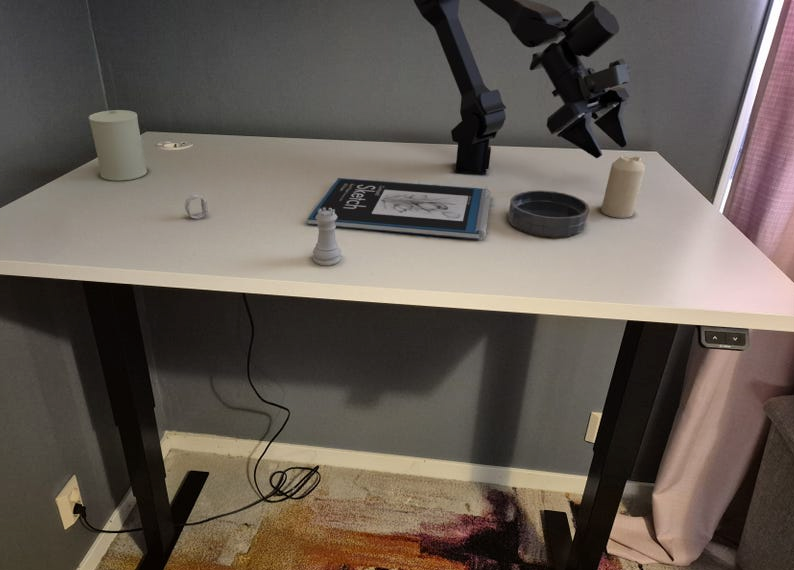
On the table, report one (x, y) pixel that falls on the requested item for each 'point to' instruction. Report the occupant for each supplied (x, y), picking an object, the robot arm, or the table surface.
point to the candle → (623, 187)
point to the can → (118, 144)
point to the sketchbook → (407, 208)
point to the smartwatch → (203, 204)
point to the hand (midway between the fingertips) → (612, 151)
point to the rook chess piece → (326, 239)
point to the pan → (548, 213)
